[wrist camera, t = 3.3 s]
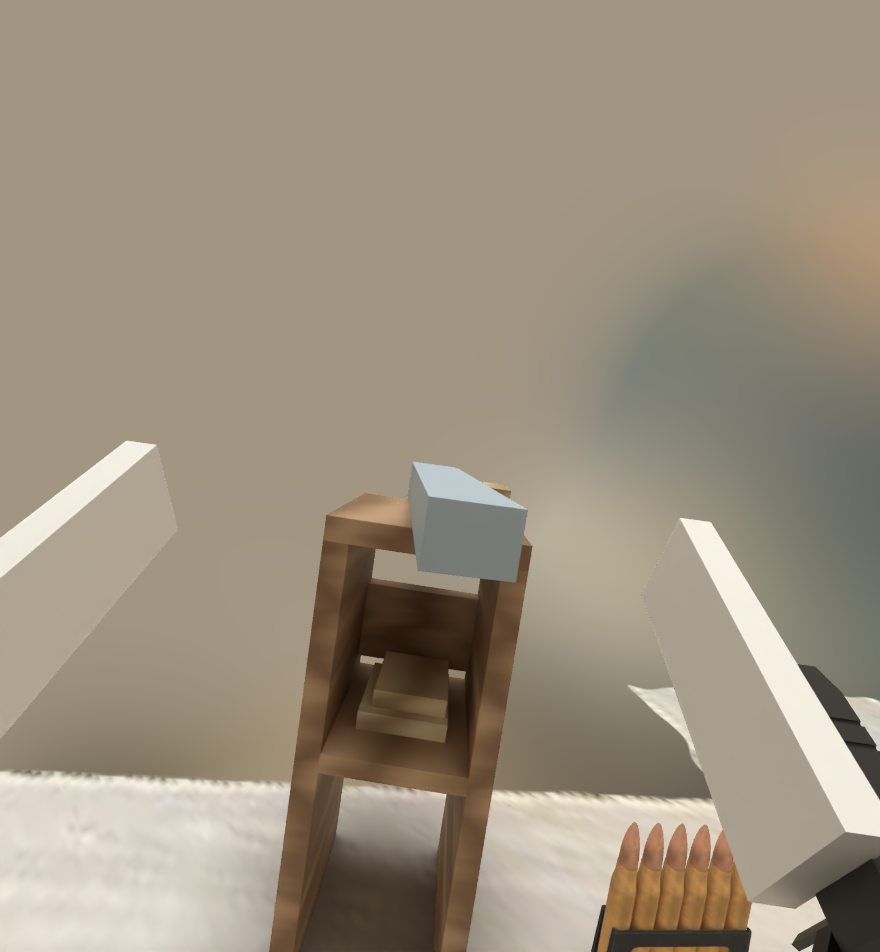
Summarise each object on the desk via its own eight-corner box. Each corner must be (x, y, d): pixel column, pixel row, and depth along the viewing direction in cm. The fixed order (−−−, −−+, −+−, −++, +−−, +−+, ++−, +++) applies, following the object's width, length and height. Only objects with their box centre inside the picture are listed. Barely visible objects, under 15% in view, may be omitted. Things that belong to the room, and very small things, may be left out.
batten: (417, 570, 19) (428, 496, 19) (407, 494, 43) (412, 461, 43) (515, 582, 19) (527, 509, 19) (451, 500, 43) (456, 468, 43)
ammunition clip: (597, 1002, 32) (629, 834, 31) (585, 971, 34) (615, 811, 33) (741, 999, 33) (775, 838, 32) (722, 969, 35) (754, 816, 34)
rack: (264, 986, 30) (331, 474, 28) (319, 830, 42) (369, 464, 40) (455, 1019, 30) (539, 505, 27) (454, 853, 42) (513, 486, 39)
